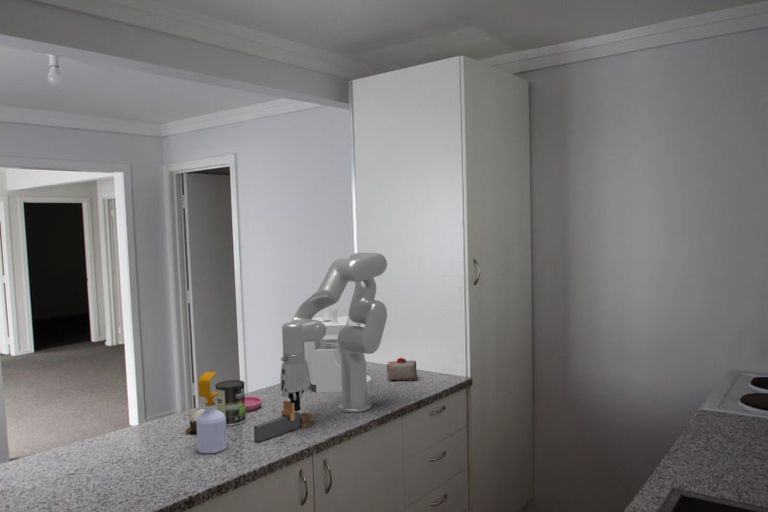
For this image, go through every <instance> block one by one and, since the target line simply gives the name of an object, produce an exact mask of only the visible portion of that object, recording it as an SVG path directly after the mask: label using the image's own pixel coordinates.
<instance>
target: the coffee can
mask: <svg viewBox="0 0 768 512" xmlns="http://www.w3.org/2000/svg"><path fill="white" fill-rule="evenodd" d="M214 386H215V392H217V393H219V394H218V395H216V396H215V397H216V398H215V400H216V401H215V402H216V409H217V410H218V411H221V412H222V413H224V415H225V417H226V427H231V426H233V427H234V426H238V425H240V424H244V423H245V422H246V421H247V418H246V412H245V397H246V395H245V394H246V392H245V381H243V380H240V379H230V380H224V381H220V382H217V383H216V384H215V385H214Z"/></svg>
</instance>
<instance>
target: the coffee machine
mask: <svg viewBox="0 0 768 512" xmlns="http://www.w3.org/2000/svg"><path fill="white" fill-rule="evenodd" d="M312 320H318V321H321V322H322V323H323V324H324V325H325V327H326V334H325V336H338V334H339V331H340V330H341V329H342V328H343V327H346V326H349V315H346V316H340V304H339V303H335V304H333V308H332V307H331V306H329V307H327V308H324V309H322V317H321V316H320V317H313V318H312ZM304 346H305V360H306V361H307V364H308V368H309V376H310V385H315V392H316V394H320V393H321V392H327V393H342V373H341V355H340V350H339V346H338V338H331V339H330V338H329V339H325V338H324V337H323V338H322V339H321V340H319V341H310V342H304ZM366 381H367V386H369V385H370V384H372V378H371V376H370V375H369V374H368V375H367V374H366ZM370 386H371V385H370ZM370 386H369V387H370ZM321 394H322V393H321Z"/></svg>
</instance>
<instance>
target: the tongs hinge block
mask: <svg viewBox="0 0 768 512" xmlns="http://www.w3.org/2000/svg"><path fill="white" fill-rule="evenodd" d="M314 419H315V417H314V414H313V413H308V412H302V413H300V427H299V428H301V429H304V428H308V427H310V426H313V425H315V420H314Z"/></svg>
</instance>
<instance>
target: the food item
mask: <svg viewBox="0 0 768 512" xmlns="http://www.w3.org/2000/svg"><path fill="white" fill-rule="evenodd" d="M417 372H418V371H417V361H416V360H407V359H406V358H403V357H402V356H401V357H399V358H397V360H393V361H392V360H391V361H388V363H386V375H387V379H388V381H389V380H416V381H418V373H417Z"/></svg>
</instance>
